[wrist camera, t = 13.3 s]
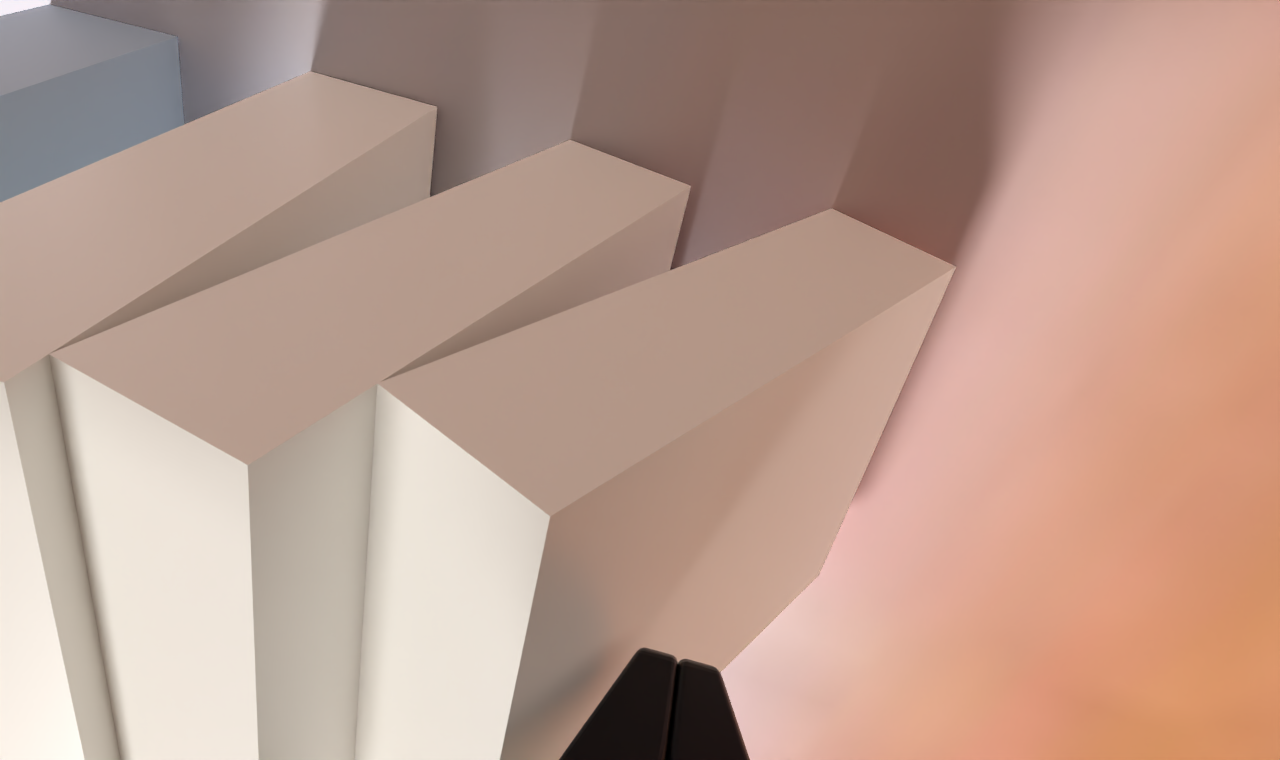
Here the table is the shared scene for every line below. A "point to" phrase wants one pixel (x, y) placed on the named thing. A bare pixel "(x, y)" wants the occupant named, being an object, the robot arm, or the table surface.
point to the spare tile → (79, 92)
